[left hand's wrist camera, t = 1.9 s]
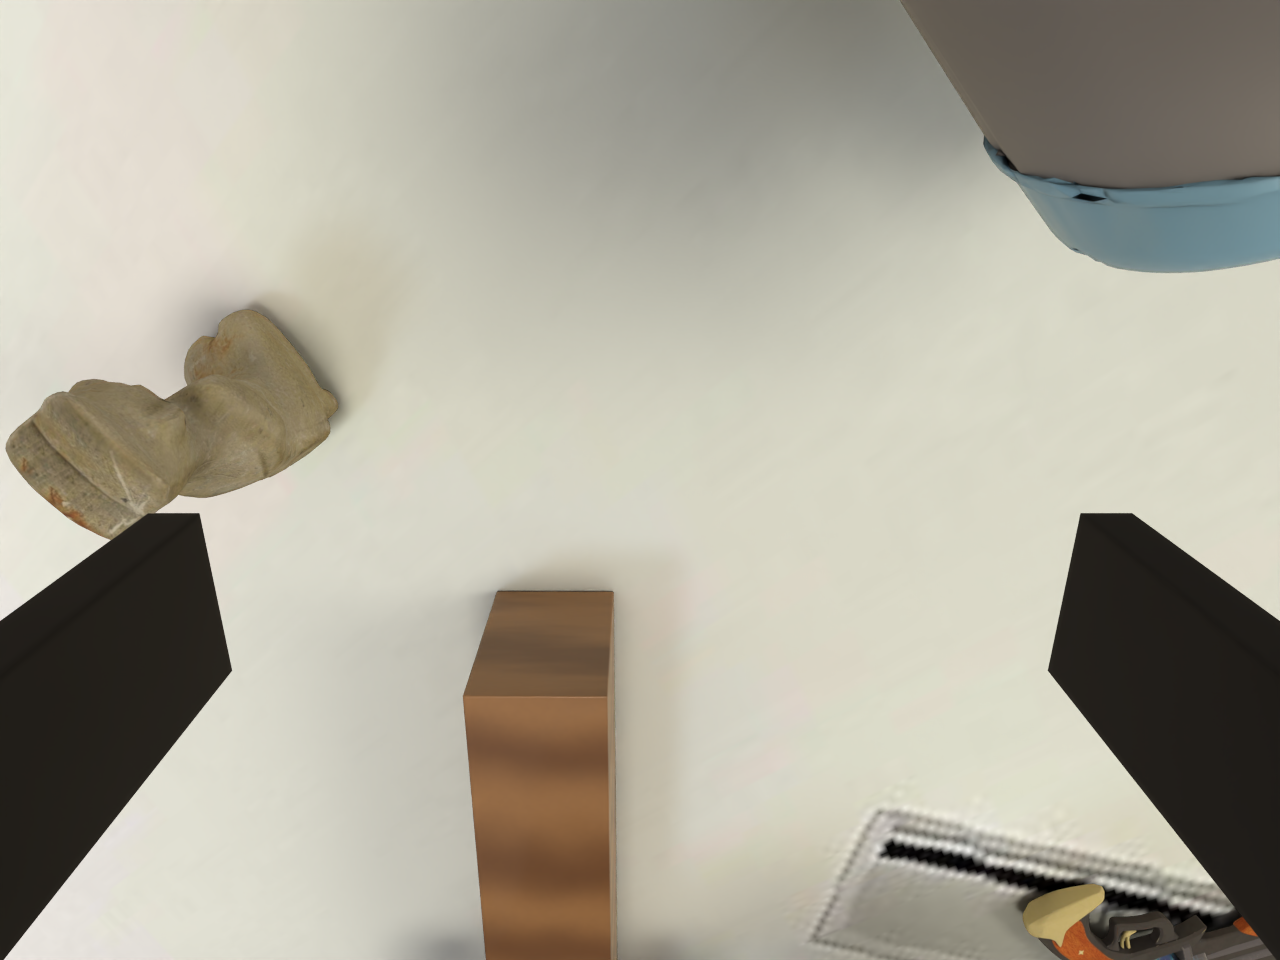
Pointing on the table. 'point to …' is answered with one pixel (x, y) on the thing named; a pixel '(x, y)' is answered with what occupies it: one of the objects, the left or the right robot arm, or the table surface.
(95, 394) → the sculpture
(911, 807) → the table surface
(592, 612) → the box
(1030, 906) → the toy gun
